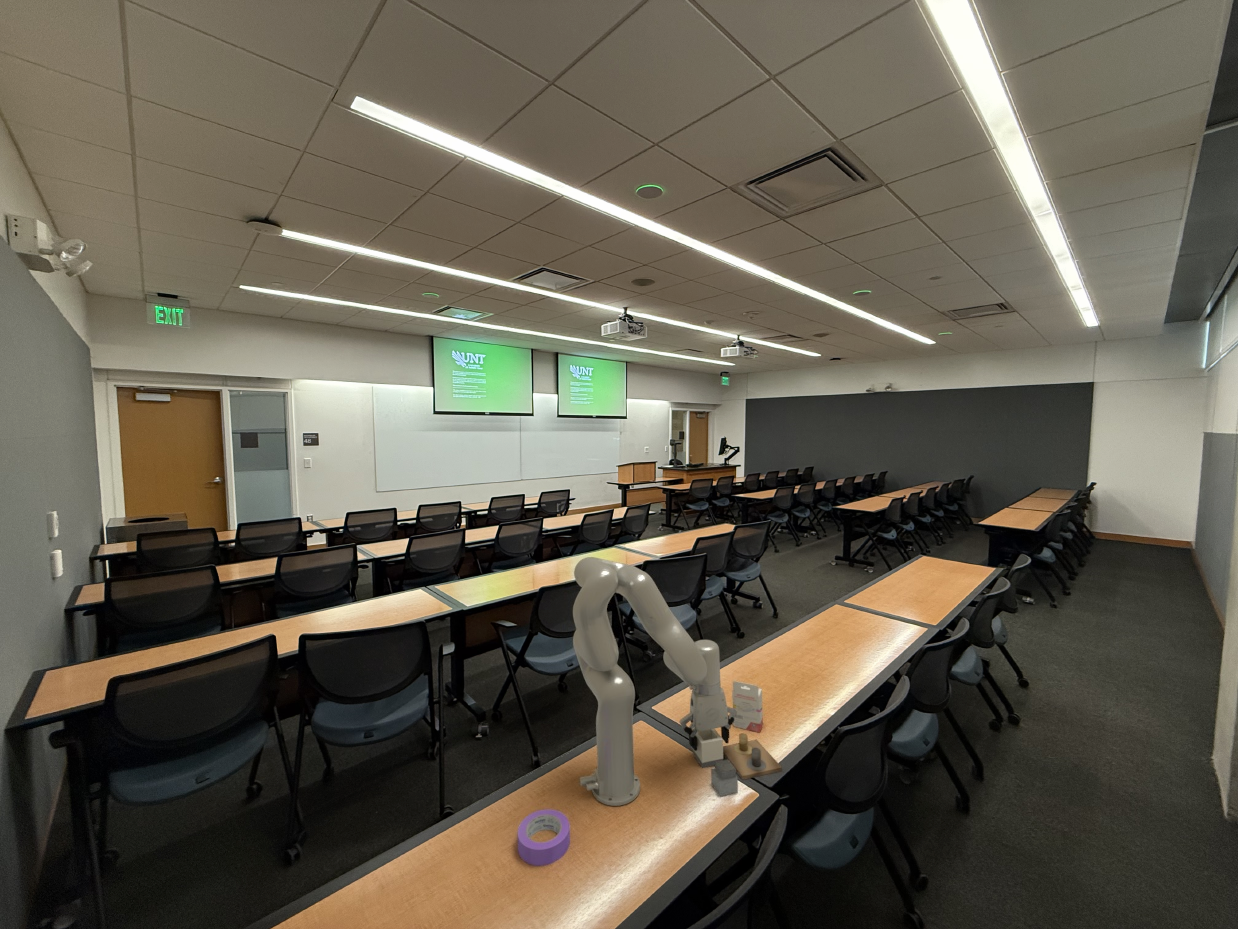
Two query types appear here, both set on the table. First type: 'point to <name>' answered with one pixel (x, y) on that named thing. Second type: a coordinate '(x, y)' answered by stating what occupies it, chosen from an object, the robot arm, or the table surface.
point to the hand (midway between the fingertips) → (709, 744)
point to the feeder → (724, 778)
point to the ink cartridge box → (747, 706)
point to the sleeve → (708, 748)
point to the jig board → (750, 758)
